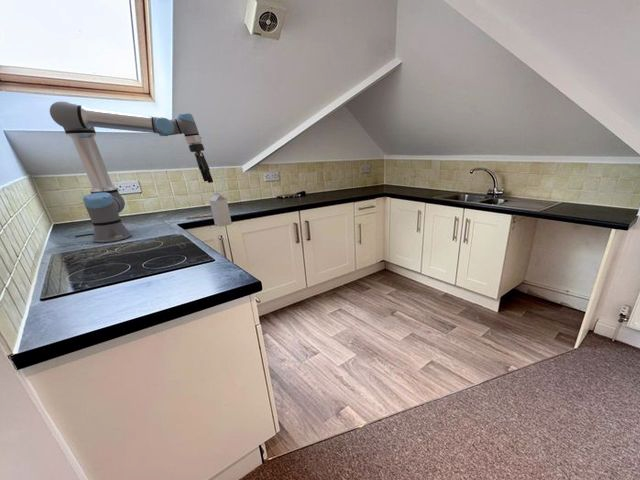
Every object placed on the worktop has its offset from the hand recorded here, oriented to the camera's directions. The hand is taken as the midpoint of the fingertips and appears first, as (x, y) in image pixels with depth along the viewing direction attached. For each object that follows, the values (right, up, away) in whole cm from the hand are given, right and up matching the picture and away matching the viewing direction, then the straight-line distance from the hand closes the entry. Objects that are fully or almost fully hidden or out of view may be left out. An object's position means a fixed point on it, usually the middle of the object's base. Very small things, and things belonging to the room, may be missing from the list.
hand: (208, 181), depth 181 cm
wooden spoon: (-18, -17, +23) cm, 33 cm away
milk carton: (+8, -26, +2) cm, 27 cm away
